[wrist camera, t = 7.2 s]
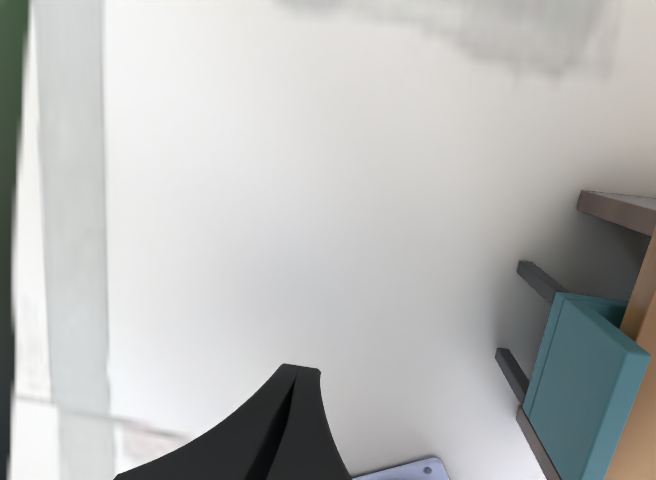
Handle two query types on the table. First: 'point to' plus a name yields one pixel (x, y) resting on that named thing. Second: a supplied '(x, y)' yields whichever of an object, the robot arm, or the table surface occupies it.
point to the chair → (578, 378)
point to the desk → (638, 324)
